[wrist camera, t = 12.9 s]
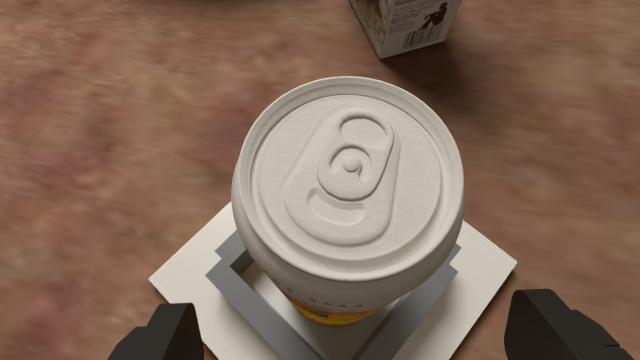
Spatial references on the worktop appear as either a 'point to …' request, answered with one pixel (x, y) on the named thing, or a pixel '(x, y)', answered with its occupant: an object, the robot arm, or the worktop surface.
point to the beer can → (348, 196)
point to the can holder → (314, 339)
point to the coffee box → (405, 23)
